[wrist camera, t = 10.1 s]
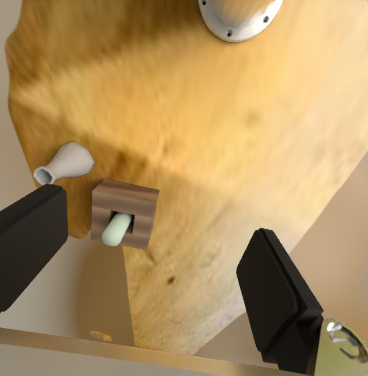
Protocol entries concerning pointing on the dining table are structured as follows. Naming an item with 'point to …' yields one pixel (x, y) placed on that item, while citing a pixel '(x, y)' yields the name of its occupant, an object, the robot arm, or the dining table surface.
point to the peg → (116, 228)
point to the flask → (66, 164)
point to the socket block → (124, 211)
